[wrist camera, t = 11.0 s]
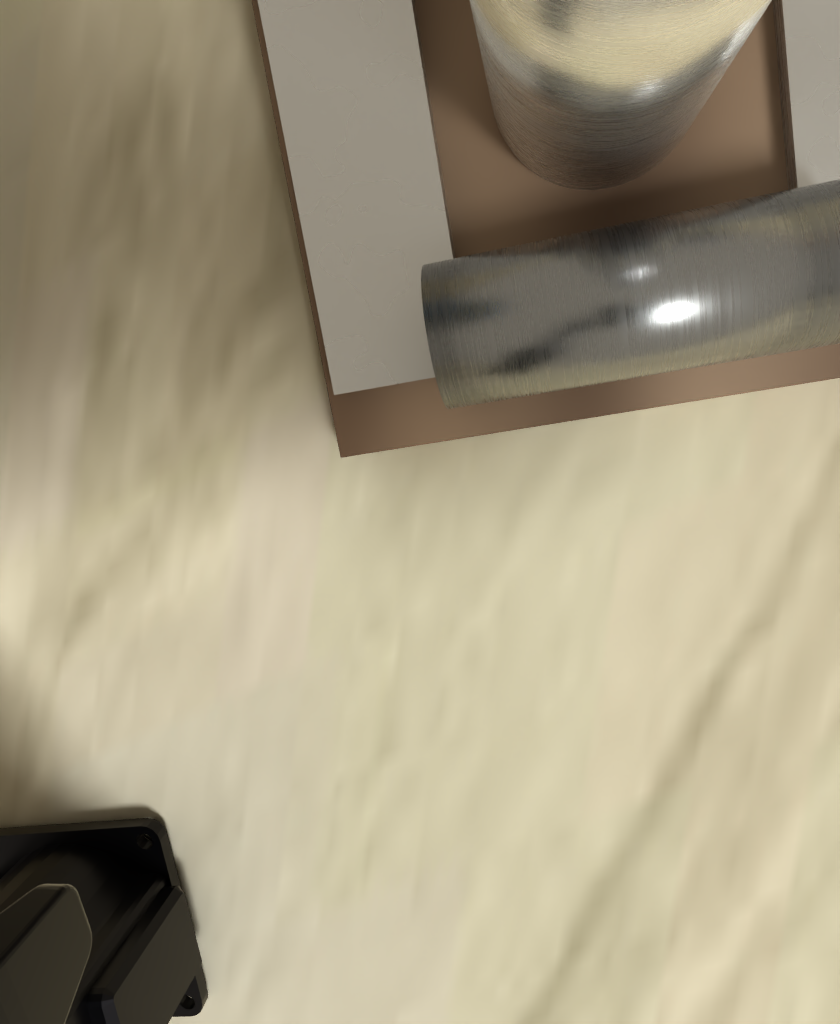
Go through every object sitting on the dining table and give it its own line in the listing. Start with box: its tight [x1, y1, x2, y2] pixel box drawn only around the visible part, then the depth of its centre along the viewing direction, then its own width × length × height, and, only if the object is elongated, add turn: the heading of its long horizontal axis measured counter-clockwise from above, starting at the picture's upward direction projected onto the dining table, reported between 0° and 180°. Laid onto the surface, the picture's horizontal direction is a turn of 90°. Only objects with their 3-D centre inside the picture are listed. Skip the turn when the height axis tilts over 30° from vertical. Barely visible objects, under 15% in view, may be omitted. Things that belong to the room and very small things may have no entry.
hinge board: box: [252, 0, 840, 457], centre depth 17 cm, size 14×14×1 cm
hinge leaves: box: [258, 0, 840, 409], centre depth 15 cm, size 13×12×3 cm
